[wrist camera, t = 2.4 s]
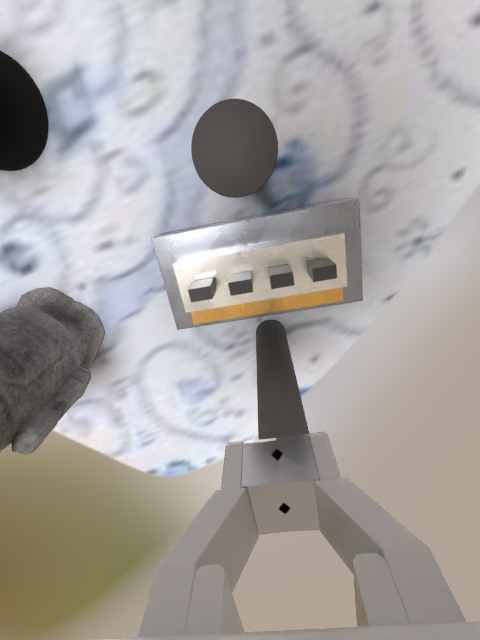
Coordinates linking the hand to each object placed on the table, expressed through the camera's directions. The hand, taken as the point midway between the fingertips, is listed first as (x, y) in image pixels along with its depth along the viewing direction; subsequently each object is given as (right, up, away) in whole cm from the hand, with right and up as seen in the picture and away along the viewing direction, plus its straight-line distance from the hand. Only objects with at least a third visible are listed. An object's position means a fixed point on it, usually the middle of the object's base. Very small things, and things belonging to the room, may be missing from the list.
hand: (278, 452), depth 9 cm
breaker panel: (+1, +11, +25) cm, 27 cm away
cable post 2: (+3, +2, +29) cm, 29 cm away
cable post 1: (-1, +19, +22) cm, 29 cm away
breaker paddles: (+1, +8, +20) cm, 21 cm away
